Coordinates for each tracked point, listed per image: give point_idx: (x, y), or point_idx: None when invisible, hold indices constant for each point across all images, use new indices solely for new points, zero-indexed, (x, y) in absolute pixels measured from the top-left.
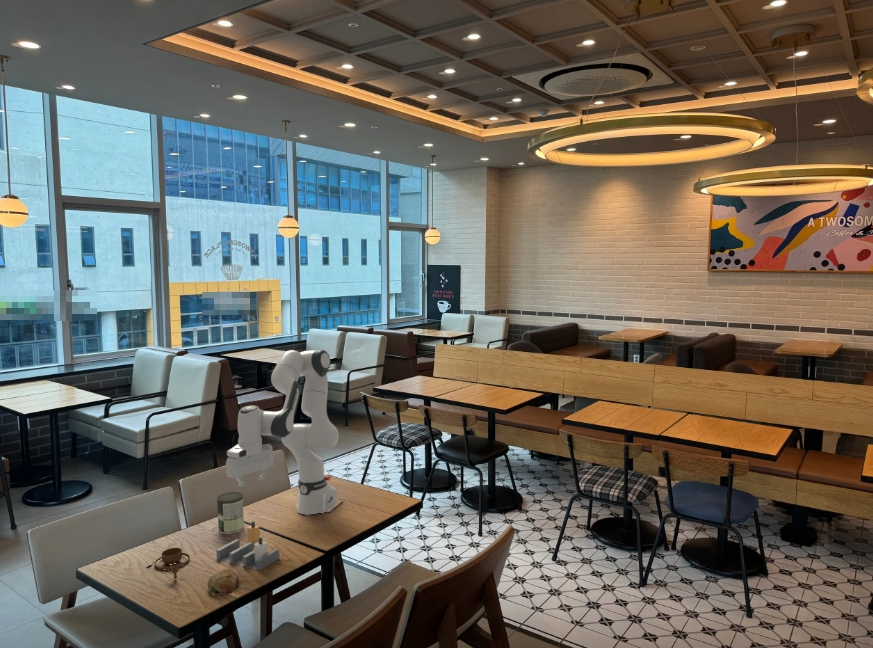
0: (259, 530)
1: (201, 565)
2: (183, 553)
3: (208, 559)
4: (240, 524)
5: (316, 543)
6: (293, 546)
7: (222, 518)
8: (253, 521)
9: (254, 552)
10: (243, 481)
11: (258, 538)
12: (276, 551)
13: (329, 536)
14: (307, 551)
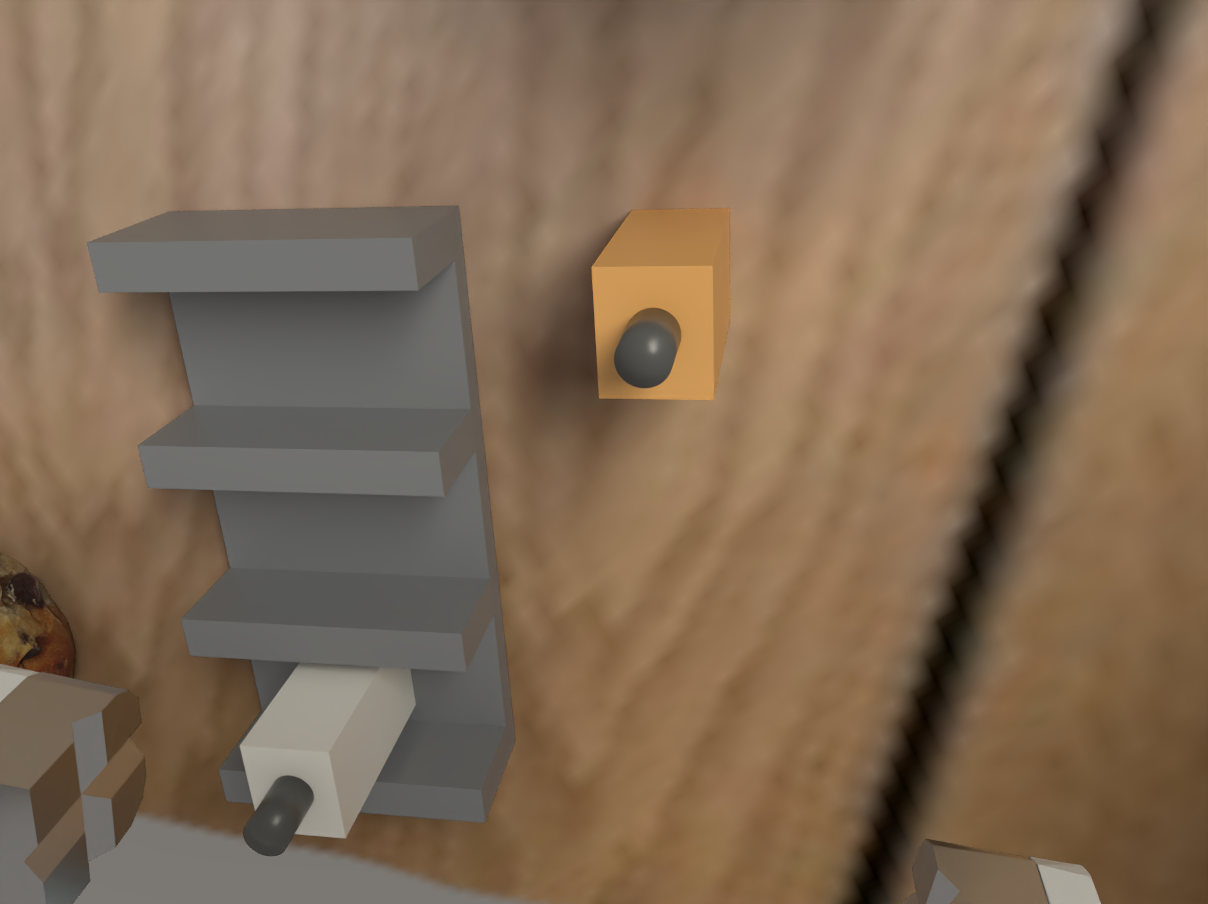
0: (718, 377)
1: (24, 121)
2: None
3: (141, 71)
4: None
5: (973, 840)
6: (822, 688)
7: None
8: (661, 355)
9: (282, 688)
10: (47, 902)
11: (247, 827)
12: (452, 813)
13: (1178, 873)
14: (785, 849)
